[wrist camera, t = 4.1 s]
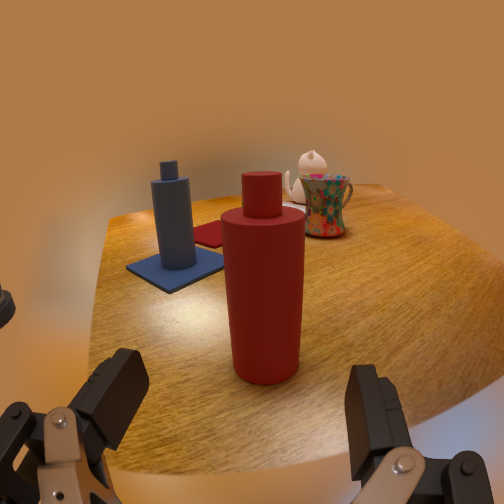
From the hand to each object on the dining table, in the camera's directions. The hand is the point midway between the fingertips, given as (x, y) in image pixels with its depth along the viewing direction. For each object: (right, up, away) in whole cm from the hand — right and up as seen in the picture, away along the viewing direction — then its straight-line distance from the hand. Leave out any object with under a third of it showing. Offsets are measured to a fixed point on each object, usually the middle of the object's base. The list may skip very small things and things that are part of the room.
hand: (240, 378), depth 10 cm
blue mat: (-10, +3, +31) cm, 33 cm away
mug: (+15, +8, +44) cm, 48 cm away
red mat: (-6, +8, +46) cm, 47 cm away
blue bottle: (-10, +3, +31) cm, 33 cm away
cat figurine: (+16, +18, +71) cm, 75 cm away
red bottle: (+2, -4, +12) cm, 13 cm away
